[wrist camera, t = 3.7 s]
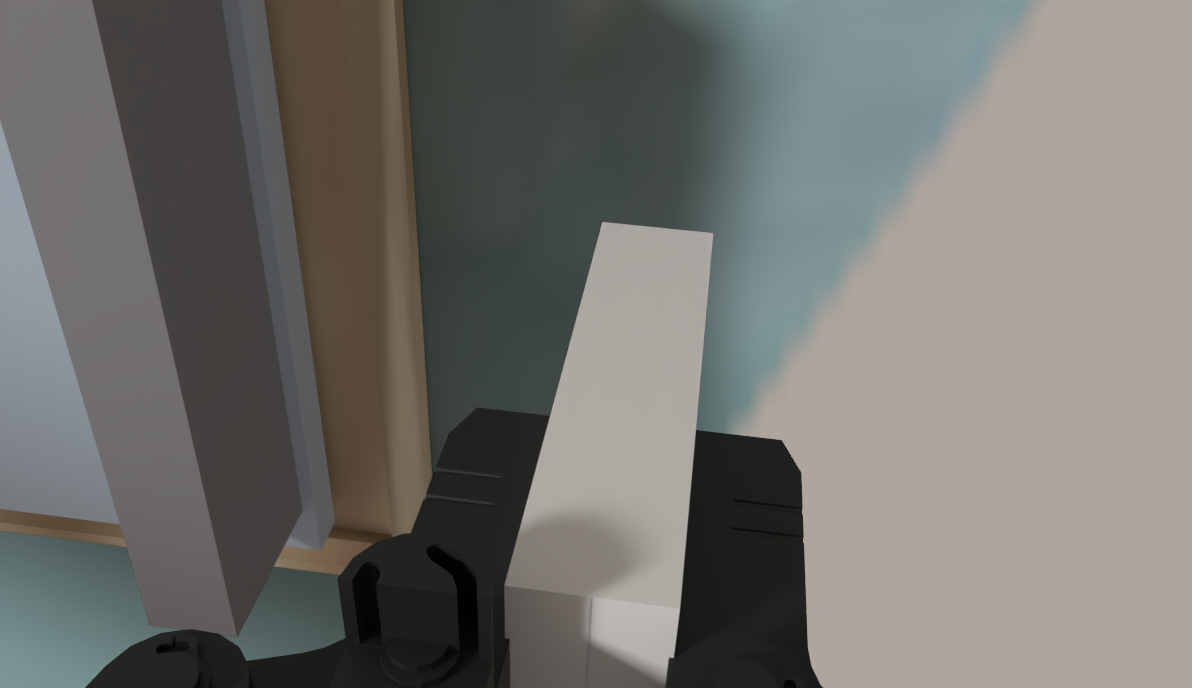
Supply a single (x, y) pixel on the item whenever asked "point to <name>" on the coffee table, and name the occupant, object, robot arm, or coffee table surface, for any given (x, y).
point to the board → (344, 271)
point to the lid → (156, 297)
